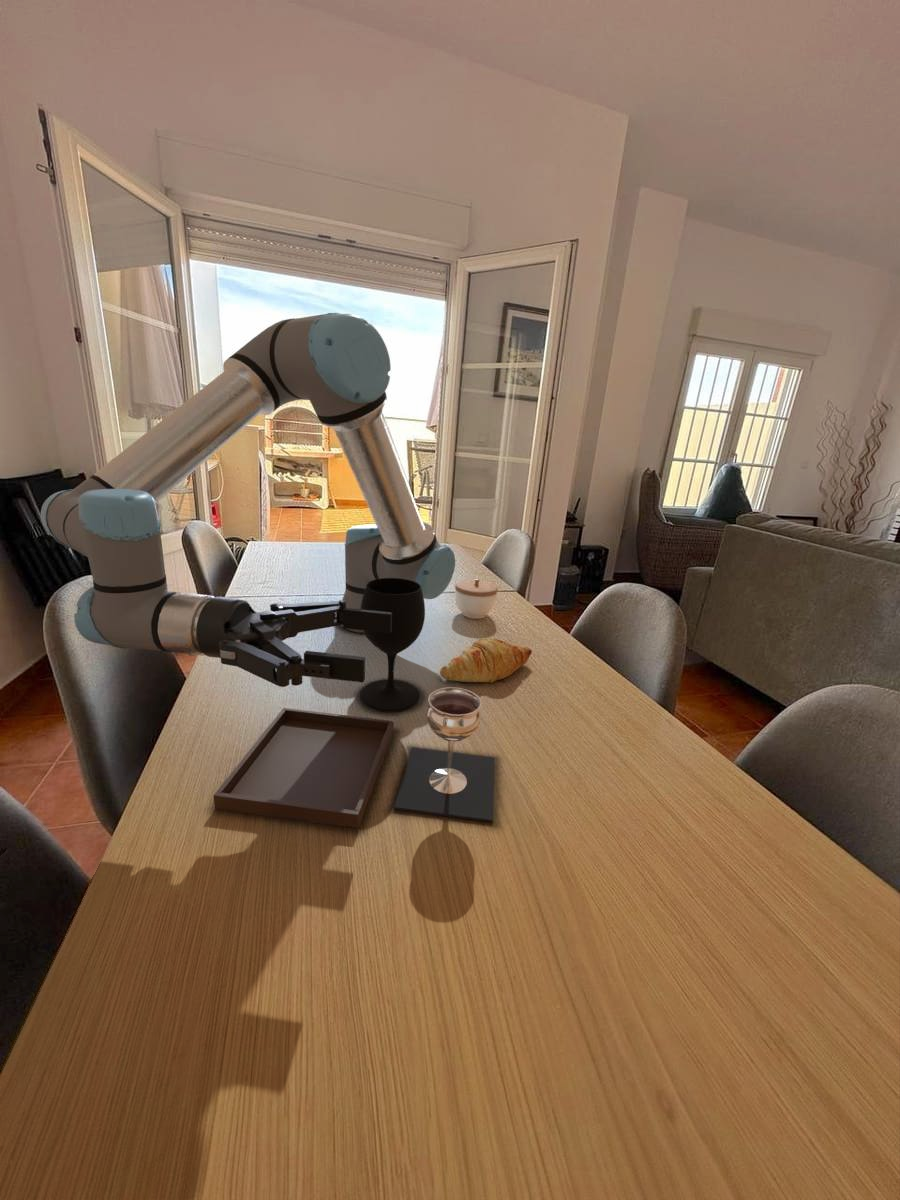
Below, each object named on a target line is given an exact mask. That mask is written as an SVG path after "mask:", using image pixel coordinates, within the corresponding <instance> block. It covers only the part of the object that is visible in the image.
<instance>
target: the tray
mask: <svg viewBox="0 0 900 1200" xmlns="http://www.w3.org/2000/svg"><path fill="white" fill-rule="evenodd" d="M394 724H395V723H394V720H390V719H389V720H388V719H379V718H372V717H364V716H363V717H362V716H355V715H347V714H338V713H331V712H323V711H314V710H306V709H296V708H295V709H294V708H289V707H283V708H282V709H281V710H280V712H279V713H278V714H277V716H276V717H275V718H274V719H273V721H272V722H271V723H270V724H269V725H268V727H267V728H266V729H265V730H264V731H263V733H262V734H261V735H260V736H259V738H258V739H257V741H255V743H254V744H253V745H252V746H251V748H250V749H249V750H248V752H247V753H246V754H245V755H244V757H243V758H242V759H241V761H240V762H239V763H238V764H237V765H236V767H234V769H233V770H232V772H231V773H230V774H229V775H228V777H226V779H225V780H224V782H223V783H222V784H221V785H220V787H218V789H217V790H216V791H215V793H214V794H213V802H214V809H215V810H220V811H228V812H235V813H243V814H249V815H257V816H264V817H271V818H278V819H284V820H285V819H286V820H293V821H300V822H306V823H307V822H308V823H315V824H323V825H329V826H336V827H344V828H352V829H359V828H360V824H361V822H362V819H363V816H364V814H365V811H366V808H367V805H368V802H369V800H370V797H371V795H372V792H373V789H374V786H375V784H376V780H377V778H378V775H379V772H380V769H381V767H382V765H383V762H384V758H385V756H386V753H387V750H388V747H389V745H390V742H391V739H392V737H393V734H394V727H395V725H394Z"/></svg>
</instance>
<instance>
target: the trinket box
mask: <svg viewBox="0 0 900 1200" xmlns="http://www.w3.org/2000/svg"><path fill="white" fill-rule="evenodd" d="M454 589H455V590H454V601H455V604H456V607H457V609H458V611H460V613H461V615H462V616H464V617H466V618H468V619H483V618H485V617H486V616H487V615H488V614H490V613H491V611H492V610H493V608H494V606H495V604H496V600H497V593H498V589H499V588H498V586H497V585H496V584H494V583H492V582H489V581H486V580H481V579H479V578H475V579H462V580H459V581H456V583H455V585H454Z"/></svg>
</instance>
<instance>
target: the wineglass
mask: <svg viewBox="0 0 900 1200" xmlns="http://www.w3.org/2000/svg"><path fill="white" fill-rule="evenodd" d="M427 702H428V704H429V705H428V706H427V710H426V720H427V723H428V726H429V728H430V730H431V731H432V732H433V733H434V734H435V735H436V736H437V737H438V738H440V739H441V740H444V741H447V742H448V743H447V744H448V745H447V752H448V766H447V768H441V769H438V770H436V771H434V772H433V773H432V774H431V776H430V778H429V782H430V784H431V786H432V787H433V788H434V789H435V790H437V791H439V792H442V793H448V794H452V793H457V792H460V791H462V790H463V789H464V788H465V786H466V784H467V779H466V777H465V775H464V774H462V773H461V772H460V771H458V770H456V769H452V768H451V764H452V756H453V752H454V748H455V742H461V741H463V740H466V739H467V738H469V737H471V736H473V734H474V733H476V731H477V729H478V727H479V725H480V723H481V719H482V718H481V707H482V699H481V698H480V696H479V695H478V694H476V693H475V692H473V691H471V690H469V689H466V688H462V687H455V686H454V687H453V686H452V687H451V686H447V687H442V688H437V689H435V690H434V691H432V692H431V693H430V694H429V696H428V699H427Z"/></svg>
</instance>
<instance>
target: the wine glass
mask: <svg viewBox="0 0 900 1200" xmlns="http://www.w3.org/2000/svg"><path fill="white" fill-rule="evenodd" d="M361 609H362V610H372V611H382V612H392V631H391V633H384V632H374V631H364V630H363V631H364V633H363V634H364V635H365V636H366V638H367V640H368V641H369V642H370V643H371V644H372V645H373V646H374V647H375V648H376V649H378V650H379V651H380V652H383V654H385V655H386V658H387V679H379V680H374V681H371V682H370V683H368V684H366V685H365V686H363V688H362V689H361V690H360V693H359V700H360V702H361V703H362V704H363V705H364V706H366V707H367V708H369V709H371V710H374V711H377V712H382V713H383V712H384V713H398V712H402V711H406V710H408V709H411V708H413V707H414V706H416V705H417V704H418V703H419V701H420V698H421V693H420V691H419V689H418V687H416V686H415V685H414V684H412V683H410V682H408V681H405V680H400V679H394V678H395V663H396V658H397V655H398V654H400V653H401V652H404V651H405V650H406V649H408V648H410V646H412V645H413V644H414V643H415V641H416V640H417V639H418V638H419V636H420V635H421V632H422V630H423V627H424V623H425V619H426V605H425V598H424V597H423V593H422V589H421V586H420V585H419V584H418V583H416V582H414V581H411V580H407V579H400V578H382V579H376V580H372V581H370V582H368V583H367V585H366V588H365V591H364V594H363V598H362V603H361Z"/></svg>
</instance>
